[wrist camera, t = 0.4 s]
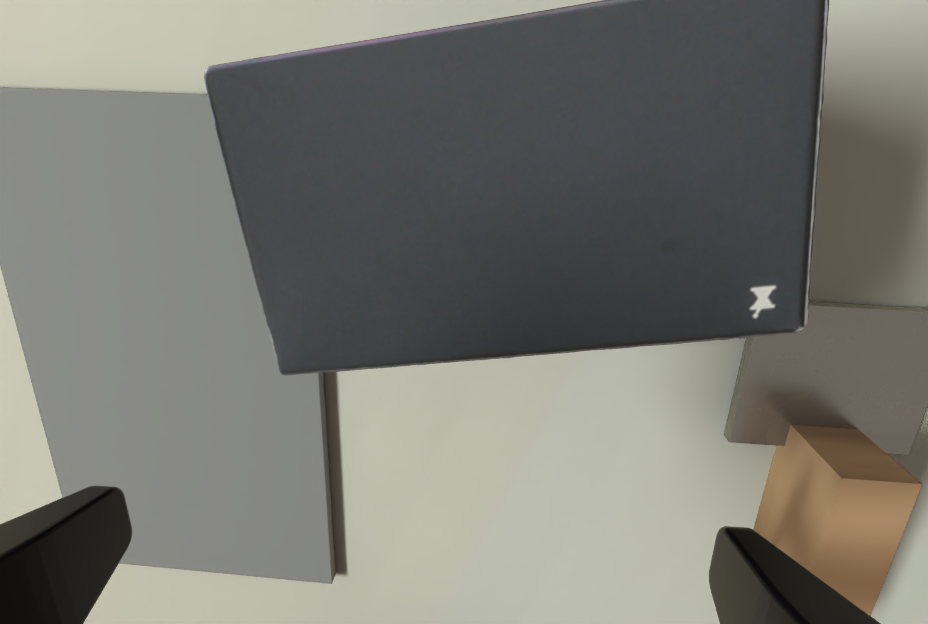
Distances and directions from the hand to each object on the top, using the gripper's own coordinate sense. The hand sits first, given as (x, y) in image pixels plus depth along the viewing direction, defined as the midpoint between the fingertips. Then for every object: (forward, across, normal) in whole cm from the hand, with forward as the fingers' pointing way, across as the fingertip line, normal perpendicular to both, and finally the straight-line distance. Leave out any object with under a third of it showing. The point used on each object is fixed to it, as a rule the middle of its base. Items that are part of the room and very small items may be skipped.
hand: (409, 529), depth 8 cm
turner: (+14, -14, +7) cm, 21 cm away
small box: (+14, -2, -5) cm, 15 cm away
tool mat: (+14, +13, +4) cm, 19 cm away
